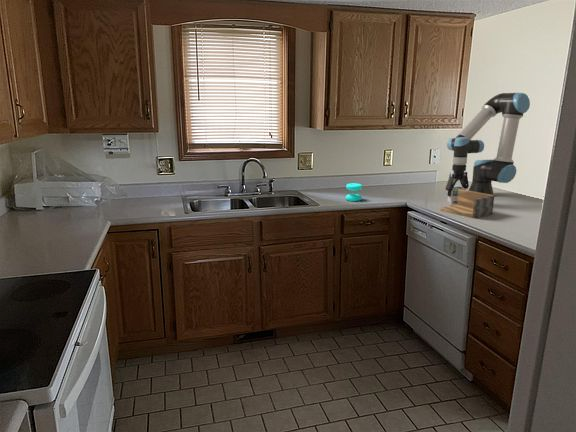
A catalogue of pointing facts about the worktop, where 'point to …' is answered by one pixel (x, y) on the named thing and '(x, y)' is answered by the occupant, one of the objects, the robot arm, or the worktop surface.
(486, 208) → the shelf
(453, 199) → the light bulb box
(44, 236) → the worktop surface
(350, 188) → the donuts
